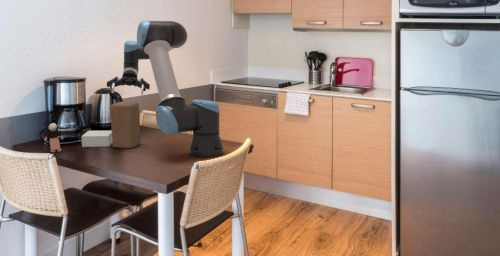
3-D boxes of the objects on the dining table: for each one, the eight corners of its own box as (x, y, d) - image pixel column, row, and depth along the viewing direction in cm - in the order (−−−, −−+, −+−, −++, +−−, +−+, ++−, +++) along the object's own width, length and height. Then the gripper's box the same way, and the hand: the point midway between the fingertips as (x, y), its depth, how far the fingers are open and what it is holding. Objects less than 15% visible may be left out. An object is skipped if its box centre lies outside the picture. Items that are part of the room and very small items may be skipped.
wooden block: (132, 149, 203) (129, 105, 199) (111, 147, 205) (109, 104, 201) (141, 143, 213) (139, 102, 208) (122, 142, 215) (119, 101, 210)
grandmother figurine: (61, 149, 202) (59, 121, 200) (65, 150, 200) (62, 122, 197) (44, 152, 197) (41, 123, 194) (47, 153, 194) (44, 125, 192)
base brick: (108, 146, 207) (108, 136, 206) (82, 146, 206) (81, 136, 205) (114, 140, 219) (113, 130, 218) (88, 140, 218) (88, 130, 217)
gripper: (154, 85, 235) (154, 100, 216) (104, 82, 229) (99, 97, 210) (154, 71, 232) (154, 85, 213) (104, 68, 226) (99, 82, 207)
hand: (127, 91), depth 212 cm, fingers open, 13 cm apart
